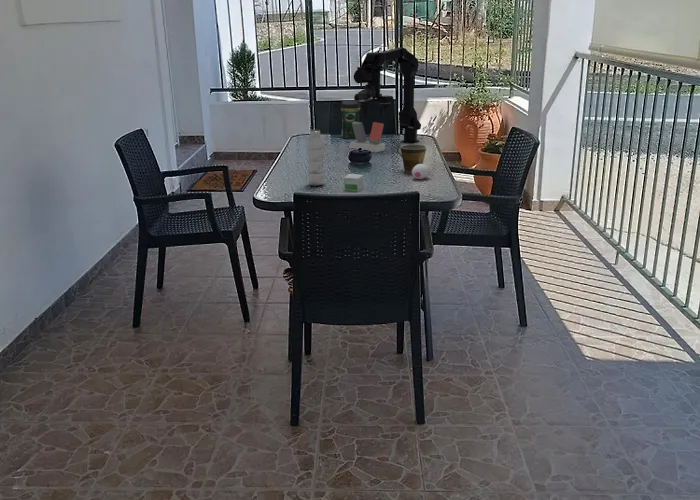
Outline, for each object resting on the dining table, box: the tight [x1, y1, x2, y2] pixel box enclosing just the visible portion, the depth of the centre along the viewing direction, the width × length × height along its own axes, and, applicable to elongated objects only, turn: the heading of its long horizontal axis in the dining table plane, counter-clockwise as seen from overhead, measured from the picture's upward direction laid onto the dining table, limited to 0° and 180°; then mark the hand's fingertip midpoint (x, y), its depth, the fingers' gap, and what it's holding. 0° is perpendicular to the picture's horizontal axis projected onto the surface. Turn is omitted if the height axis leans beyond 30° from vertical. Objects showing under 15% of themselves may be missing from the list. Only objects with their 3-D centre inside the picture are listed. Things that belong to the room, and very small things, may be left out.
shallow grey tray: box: [350, 140, 386, 153], centre depth 298 cm, size 7×15×3 cm, turn 47°
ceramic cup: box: [396, 143, 427, 175], centre depth 254 cm, size 13×10×10 cm
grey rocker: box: [352, 121, 368, 142], centre depth 297 cm, size 2×5×9 cm, turn 47°
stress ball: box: [411, 163, 430, 181], centre depth 244 cm, size 8×8×7 cm
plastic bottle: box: [306, 129, 326, 187], centre depth 234 cm, size 6×7×20 cm
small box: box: [343, 173, 365, 192], centre depth 231 cm, size 6×6×5 cm
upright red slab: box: [368, 121, 385, 144], centre depth 294 cm, size 2×5×9 cm, turn 47°
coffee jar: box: [340, 99, 361, 140], centre depth 323 cm, size 10×8×19 cm
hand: (373, 117), depth 290 cm, fingers open, 9 cm apart
